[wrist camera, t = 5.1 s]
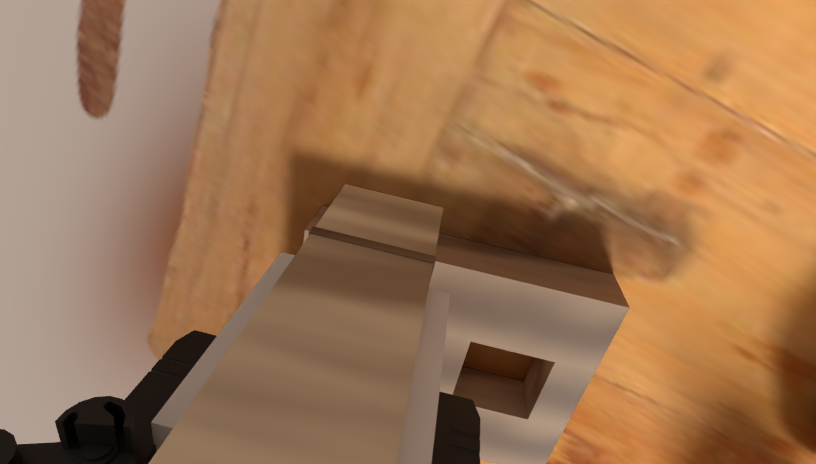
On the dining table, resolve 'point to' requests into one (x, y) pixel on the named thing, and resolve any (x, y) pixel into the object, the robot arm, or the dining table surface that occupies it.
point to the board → (521, 339)
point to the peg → (323, 347)
